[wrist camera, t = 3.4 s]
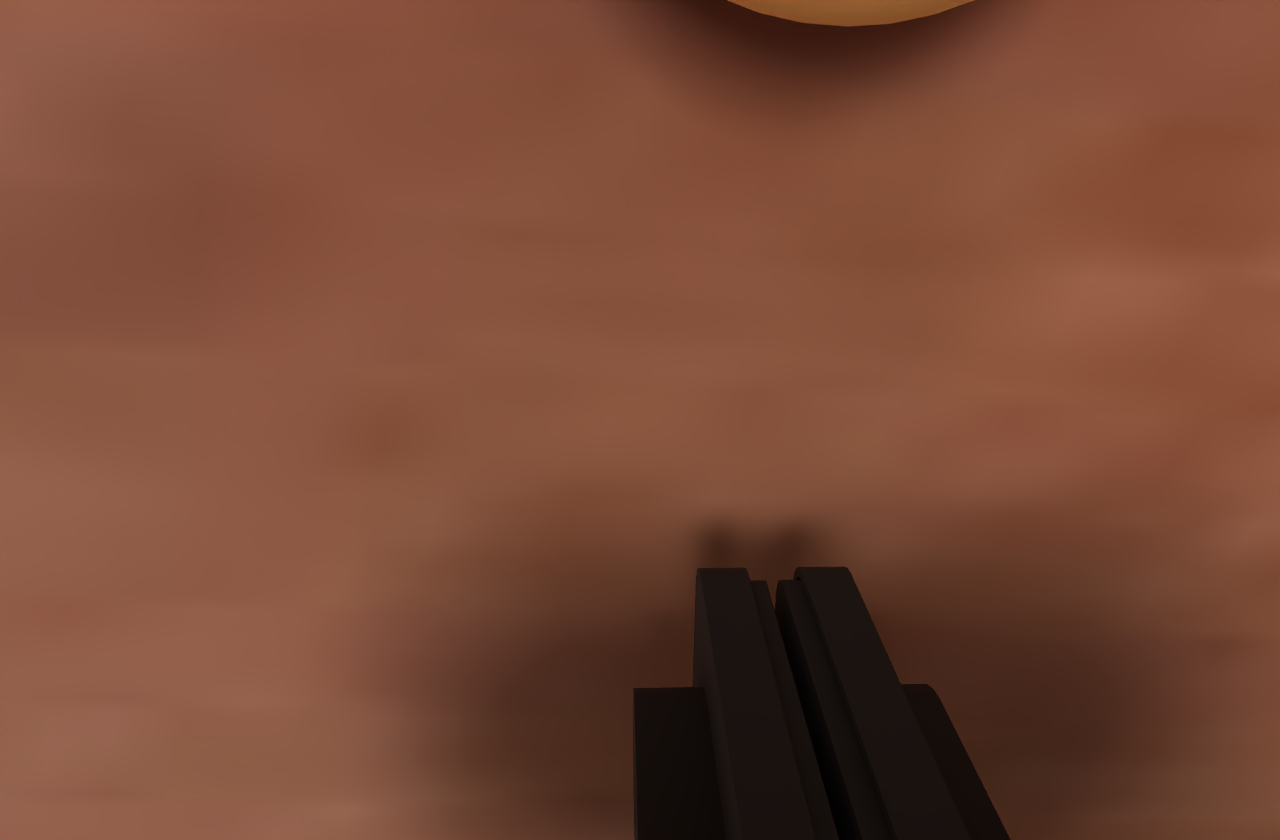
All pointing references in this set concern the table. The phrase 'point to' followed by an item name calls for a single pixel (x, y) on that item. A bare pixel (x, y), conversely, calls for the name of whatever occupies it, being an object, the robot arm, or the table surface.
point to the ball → (850, 10)
